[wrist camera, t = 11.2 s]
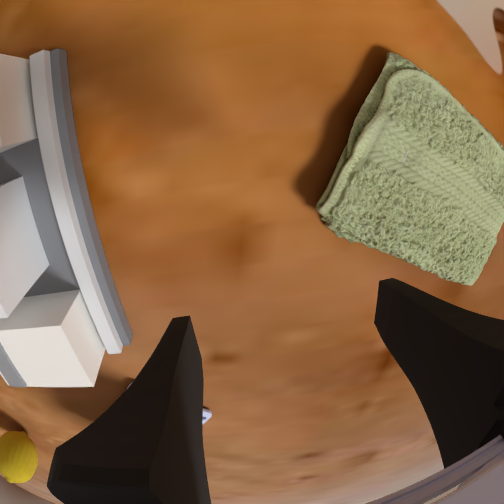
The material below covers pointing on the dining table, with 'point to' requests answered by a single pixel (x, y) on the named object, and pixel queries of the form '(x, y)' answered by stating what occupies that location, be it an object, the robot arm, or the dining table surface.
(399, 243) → the washcloth
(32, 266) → the block
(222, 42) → the dining table surface
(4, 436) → the lemon
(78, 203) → the board
